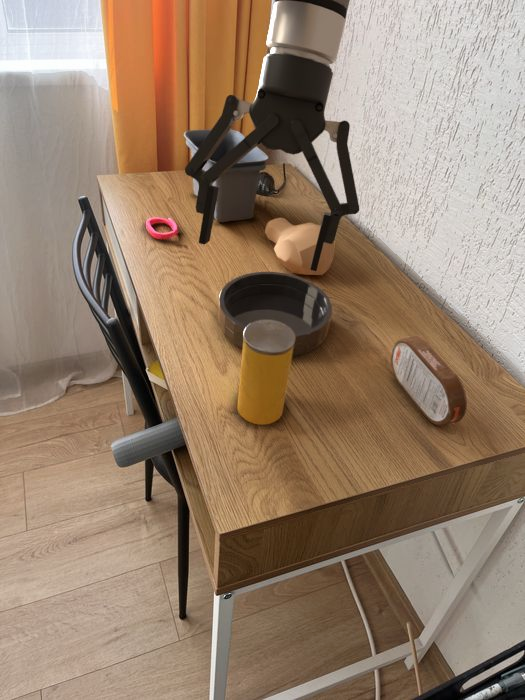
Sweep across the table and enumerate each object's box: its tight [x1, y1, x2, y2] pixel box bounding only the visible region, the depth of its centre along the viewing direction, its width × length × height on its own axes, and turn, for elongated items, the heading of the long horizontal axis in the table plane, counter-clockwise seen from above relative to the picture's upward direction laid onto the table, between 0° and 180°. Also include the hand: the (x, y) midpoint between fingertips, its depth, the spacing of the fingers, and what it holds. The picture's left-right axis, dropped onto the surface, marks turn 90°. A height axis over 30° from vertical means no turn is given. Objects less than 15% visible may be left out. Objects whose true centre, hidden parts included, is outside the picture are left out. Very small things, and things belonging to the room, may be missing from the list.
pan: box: [217, 271, 333, 358], centre depth 88 cm, size 19×19×4 cm
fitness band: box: [145, 217, 179, 240], centre depth 110 cm, size 8×6×2 cm
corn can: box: [237, 320, 295, 426], centre depth 70 cm, size 6×6×13 cm
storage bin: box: [183, 128, 270, 223], centre depth 118 cm, size 21×16×14 cm
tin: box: [390, 334, 468, 427], centre depth 75 cm, size 15×3×8 cm, turn 21°
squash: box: [264, 217, 336, 276], centre depth 104 cm, size 11×20×9 cm, turn 28°
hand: (258, 255), depth 63 cm, fingers open, 13 cm apart
